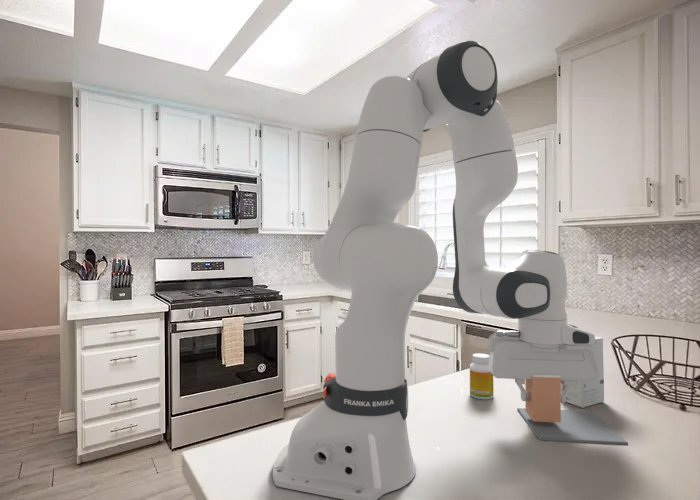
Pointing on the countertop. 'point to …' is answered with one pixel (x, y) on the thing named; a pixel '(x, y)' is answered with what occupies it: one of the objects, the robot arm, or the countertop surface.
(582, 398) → the skincare box
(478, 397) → the supplement bottle
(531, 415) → the block
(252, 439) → the countertop surface
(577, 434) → the mat
